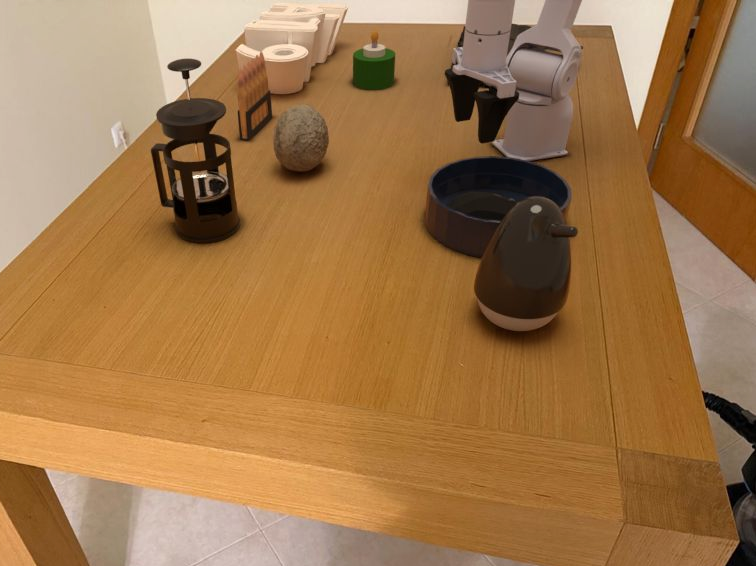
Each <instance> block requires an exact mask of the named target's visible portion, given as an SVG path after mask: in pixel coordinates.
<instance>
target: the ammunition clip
mask: <svg viewBox="0 0 756 566" xmlns="http://www.w3.org/2000/svg"><path fill="white" fill-rule="evenodd" d="M237 101H238V102H237V104H238V110H237V121H238V132H239V140H242V141H251V140H252V139H253V138H254V137H255V136H256V135H257V134H258V133H259V132H260V131H261V130H262V129H263V128H264V127H265V126H266V125H267V124H268V123H269V122H270V120H272V119H273V108H272V98H271V93H270V90H268V77H267V73H266V66H265V59H264V55H263V53H262V52H260V55H259V57H258V55H256V58H255V60H254V59H253V58H252V61H251V64H250V62H248V63H247V68H246V66H245V65H244V66H243V70H241V69H240V68H239V69H238V73H237Z"/></svg>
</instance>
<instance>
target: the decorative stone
mask: <svg viewBox="0 0 756 566" xmlns="http://www.w3.org/2000/svg"><path fill="white" fill-rule="evenodd" d="M273 130H274V131H273V137H272V139H273V141H272V142H273V151H274V156H275V158H276V159H277V160H278V161H279V163H280V165H282V166H284V167H285V168H286V169H287V170H290V171H293V172H303V173H306V172H309V171H311V170H313V169H314V168H316V167H317V166H318V165H319V164H320V163H322V162H323V160H324V158H326V157H325V155H326V154H327V149H328V147H329V144H330V139H329V138H330V136H329V128H328V125H327V122H326V121H325V118H324V117H323V116H322V115H321V114H320V112H319V111H317V110H316V109H315V108H314V107H313V106H311V105H310V104H303V103H301V104H300V103H298V104H296V105H293V106H290V107H289V108H287V109H286V110H284V111H282V113H281V114H280V116H279V117H278V120H277V122H276V124H275V126H274V129H273Z"/></svg>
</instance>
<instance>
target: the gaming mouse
mask: <svg viewBox="0 0 756 566" xmlns="http://www.w3.org/2000/svg"><path fill="white" fill-rule="evenodd" d="M515 204H516V202H515V200H514V199H512V198H510V199H509V198H507V197H505V196H501V195H497V194H494V193H490V192H476V191H471V192H468V193H464V194H461V195H458V196H457V197H455V198H454V199H453V200H451V201H450V202H449V203H448V204H446V205H447V206H448V207H450V208H451V209H453V210H456V211H458V212H461V213H463V214H466V215H469V216H473V217H478V218H482V219H488V220H498V221H501V220H502V219H503V217H504V216H505V215H506V213H507V212H508V211H509V210H510V209H511V208H512V207H513V206H514V205H515Z"/></svg>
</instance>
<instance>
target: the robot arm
mask: <svg viewBox="0 0 756 566" xmlns="http://www.w3.org/2000/svg"><path fill="white" fill-rule="evenodd" d="M582 2H583V0H544V3H543V6H542V8H541V12H540V14H539V17H538V21H537V22H536V24H534V25H533V26H531V27H532V28H530V29H528V30H526V31H524V32H523V33H521V34H519V35H518V36H517V38H516V40H515V43H514V45H513V47H512V49H511V51H510V53H509V54H508V56H507V51H508V44H509V38H510V32H511V25H512V24H513V18H514V10H515V6H516V5H515V4H516V0H467V8H466V17H465V25H464V26H465V34H464V43H463V47H459V48H457V47H454V48H452V55H451V56H452V57H451V58H452V59H451V64H452V63H454V64H456V65H454V66H453V68H451V67H450V68H447V69H445V70H444V76H445V78H446V80H447V84H448V83H449V84H448V85H449V86H448V87H449V90H450V94H451V99H452V106H453V115H454V120H455V122H457V123H459V122H466V121H470V120H471V118H472V115H473V112H474V108H475V104H476V108H477V117H478V121H477V122H478V123H477V138H478V142H479V143H480V144H486V143H491V145H492V146H494V147H495V148H496V149H497V150H498V151H499V152H500V153H501V154H502V155H504V157H511V158H516V159H521V160H526V161H530V162H533V161H537V160H544V159H550V158H556V157H563V156H567V155H568V151H567V150H566V147H567V144H568V139H569V134H570V131H571V127H572V122H573V118H574V104H573V100H572V98H571V96H570V95H569V94H570V93H571V92H572V90H573V88H574V86H575V84H576V81H577V78H578V74H579V66H580V63H581V59H582V56H583V49H581V46H582V45H580V43H579V42H578V40H577V39H576V37H575V35H574V33H573V32H572V29H573V26H574V23H575V21H576V18H577V15H578V12H579V10H580V7H581V4H582ZM535 48H543V49H545V51H540V50H535ZM546 50H547V51H546ZM549 51H553V52H549ZM554 52H558V53H554ZM560 53H561V54H560ZM482 81H483V82H484V83H486V84H487V85H486V86H487V87H488V89H487V90H480V91H479V89H480V86H481V84H482V83H481V82H482ZM505 119H506V120H505ZM504 121H505V127H504V133H503V138H501V139H497V136H498V134H499V131H500V129H501V128H502V124H503V123H504Z"/></svg>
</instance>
